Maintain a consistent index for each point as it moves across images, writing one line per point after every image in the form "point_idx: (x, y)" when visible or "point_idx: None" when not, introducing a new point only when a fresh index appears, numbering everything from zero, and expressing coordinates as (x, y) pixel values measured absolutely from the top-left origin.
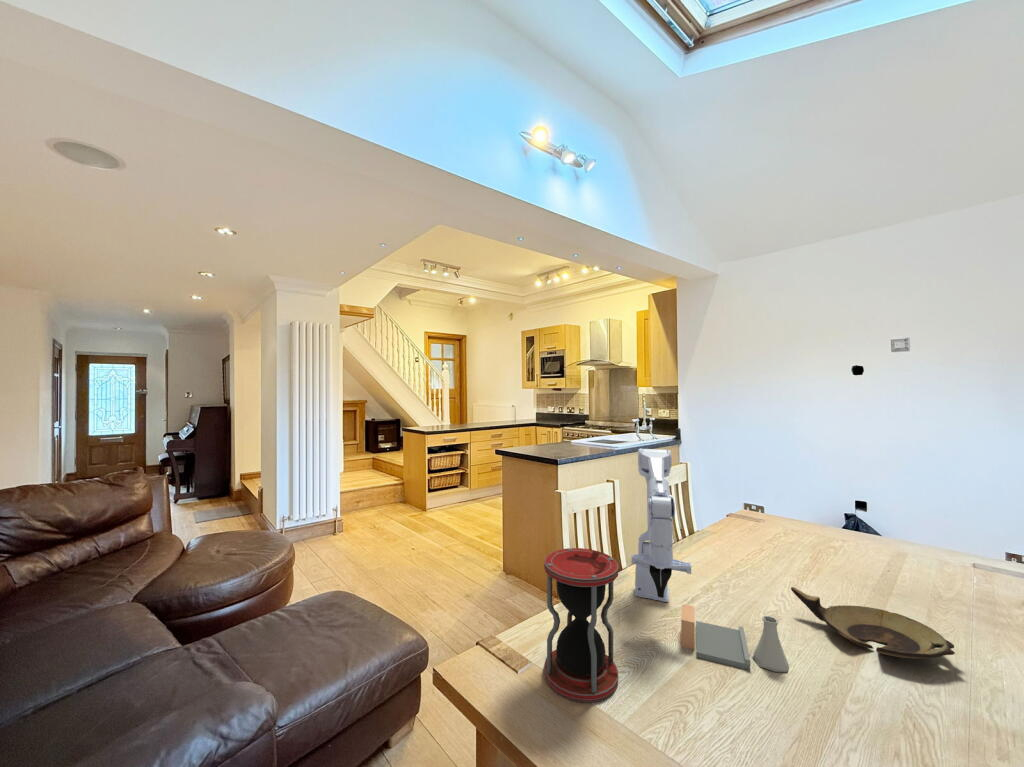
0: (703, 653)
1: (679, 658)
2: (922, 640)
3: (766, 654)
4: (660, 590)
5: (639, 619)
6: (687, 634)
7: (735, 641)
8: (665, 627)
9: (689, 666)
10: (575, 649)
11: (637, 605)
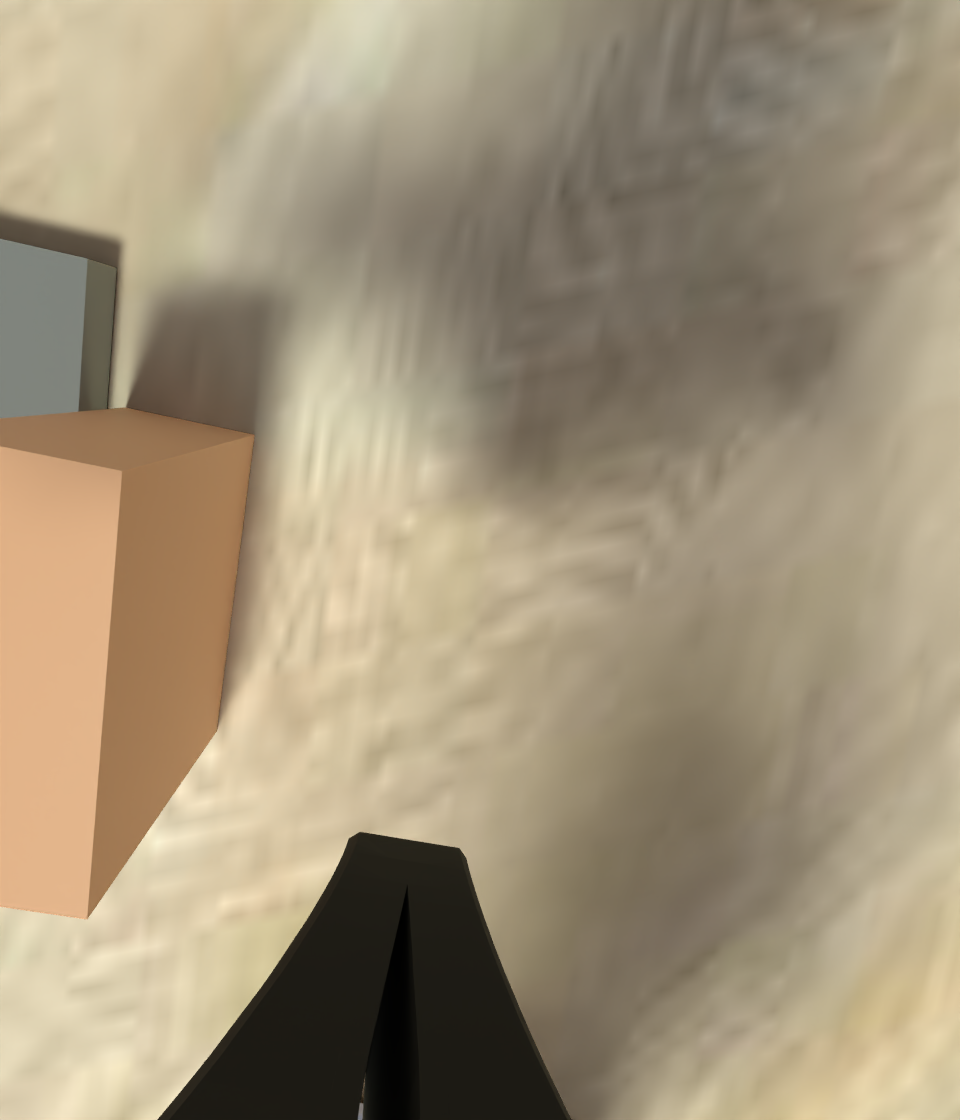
0: (11, 244)
1: (295, 208)
2: None
3: None
4: (392, 994)
5: (603, 793)
6: (129, 432)
7: None
8: (373, 717)
9: (205, 78)
10: None
11: (587, 1000)
